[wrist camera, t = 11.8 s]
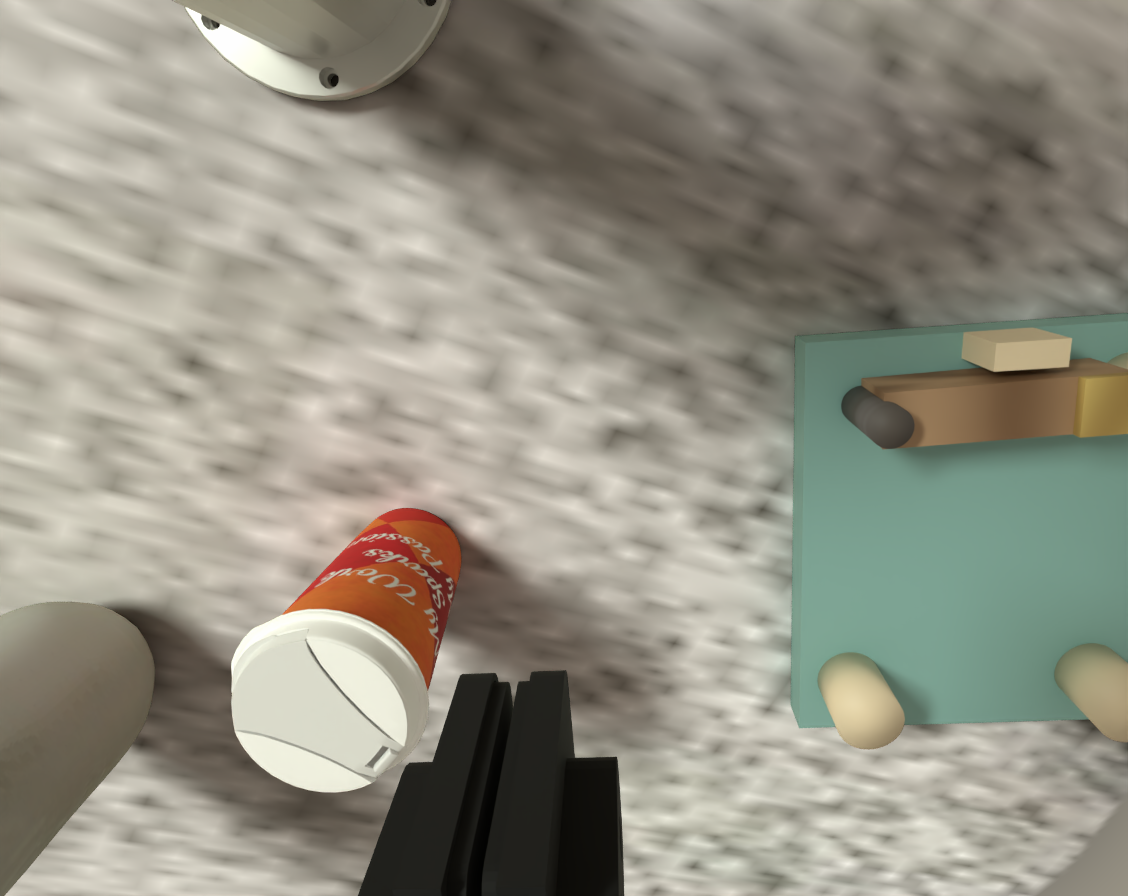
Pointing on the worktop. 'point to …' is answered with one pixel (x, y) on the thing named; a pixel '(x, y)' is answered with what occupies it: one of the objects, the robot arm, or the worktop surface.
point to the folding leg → (990, 404)
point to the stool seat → (956, 547)
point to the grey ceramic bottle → (63, 717)
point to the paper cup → (350, 659)
